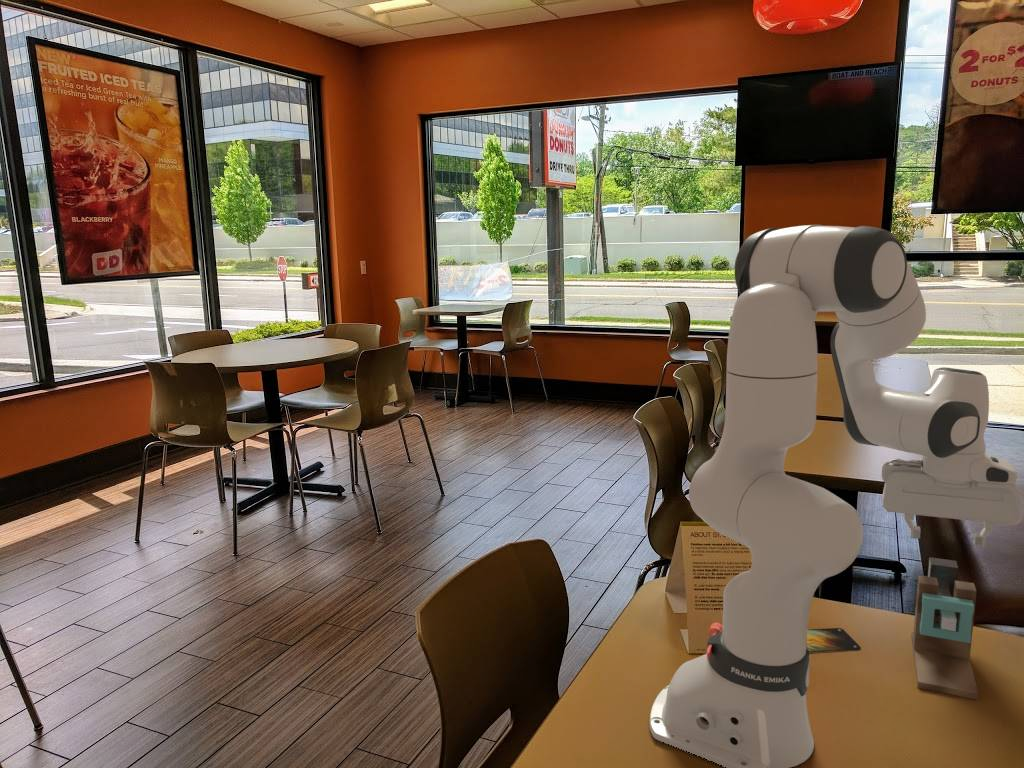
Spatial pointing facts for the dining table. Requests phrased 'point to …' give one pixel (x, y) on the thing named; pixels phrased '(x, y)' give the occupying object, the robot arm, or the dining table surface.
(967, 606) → the spacer
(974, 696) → the stand
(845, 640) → the smartphone
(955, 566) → the shaft
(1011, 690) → the dining table surface
